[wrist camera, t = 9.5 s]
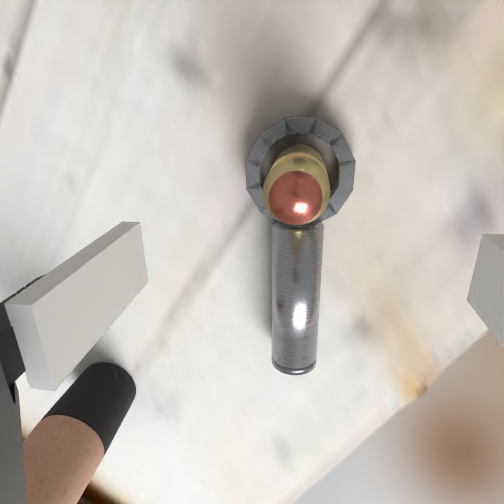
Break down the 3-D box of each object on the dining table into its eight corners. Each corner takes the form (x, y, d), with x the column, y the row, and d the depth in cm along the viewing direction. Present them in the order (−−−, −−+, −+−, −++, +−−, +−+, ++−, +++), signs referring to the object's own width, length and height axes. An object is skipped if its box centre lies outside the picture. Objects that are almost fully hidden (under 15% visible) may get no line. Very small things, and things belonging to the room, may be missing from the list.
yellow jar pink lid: (273, 144, 34) (259, 162, 25) (327, 144, 33) (334, 163, 24) (272, 197, 36) (259, 231, 27) (324, 198, 35) (329, 234, 26)
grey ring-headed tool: (248, 117, 33) (239, 121, 29) (356, 116, 32) (363, 119, 28) (253, 343, 42) (246, 371, 38) (337, 349, 41) (340, 378, 37)
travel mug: (118, 417, 50) (7, 605, 32) (70, 383, 49) (-74, 557, 30) (150, 386, 47) (47, 572, 29) (99, 349, 46) (-41, 519, 28)
